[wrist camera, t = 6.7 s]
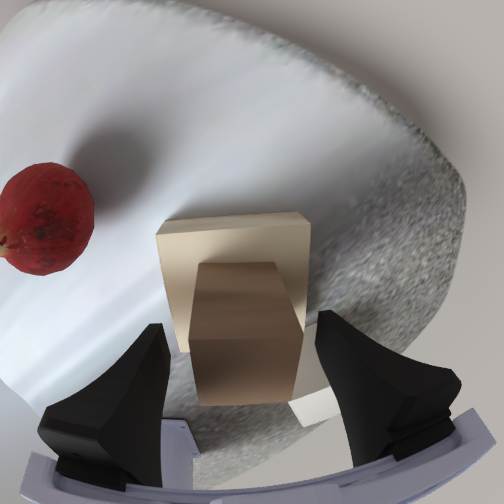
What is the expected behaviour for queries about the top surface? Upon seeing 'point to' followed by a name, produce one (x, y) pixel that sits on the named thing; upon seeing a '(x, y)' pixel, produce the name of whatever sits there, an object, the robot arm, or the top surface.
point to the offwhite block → (312, 385)
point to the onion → (45, 219)
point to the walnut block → (243, 335)
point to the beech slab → (232, 256)
